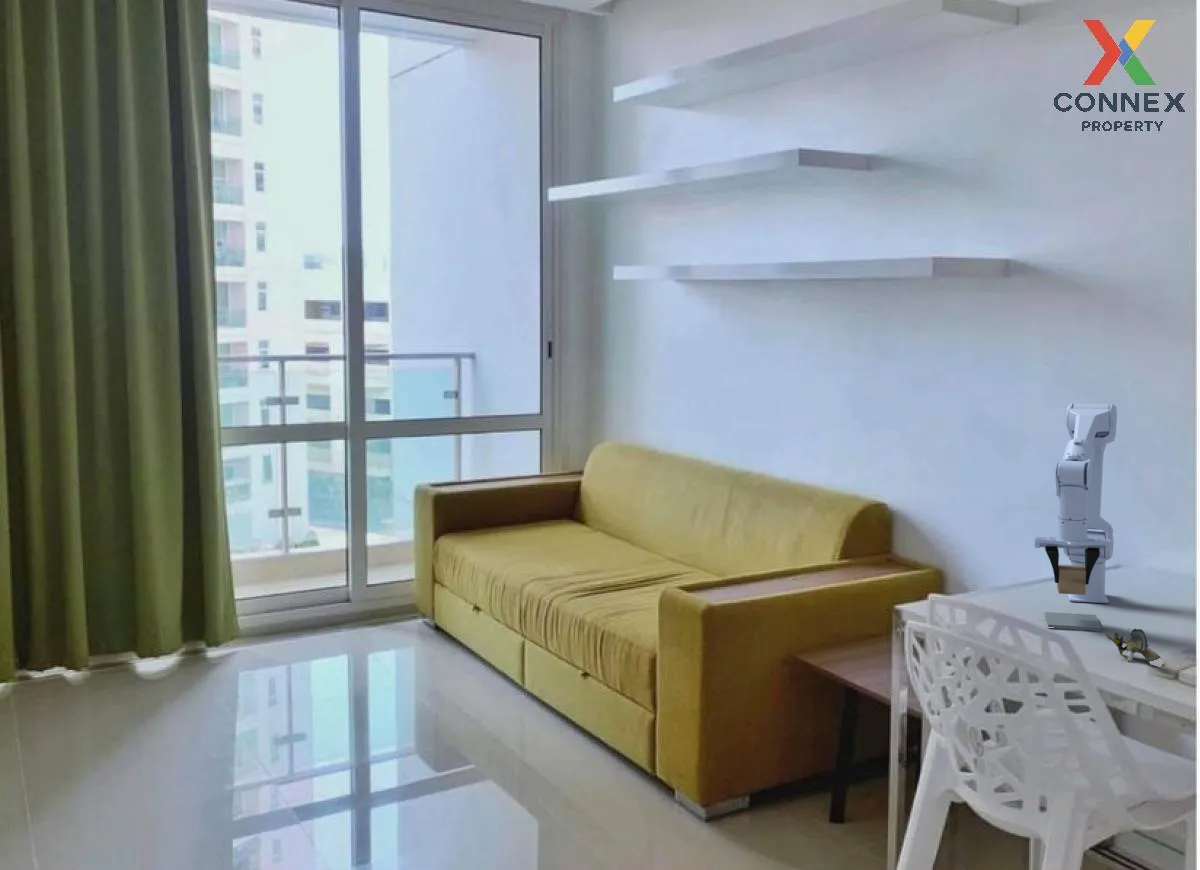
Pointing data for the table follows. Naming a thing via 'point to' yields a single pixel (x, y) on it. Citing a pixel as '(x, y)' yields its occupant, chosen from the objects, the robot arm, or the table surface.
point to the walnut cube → (1071, 579)
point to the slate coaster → (1072, 621)
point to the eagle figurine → (1134, 644)
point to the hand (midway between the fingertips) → (1071, 582)
